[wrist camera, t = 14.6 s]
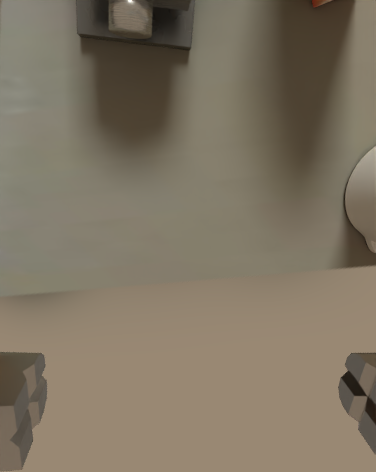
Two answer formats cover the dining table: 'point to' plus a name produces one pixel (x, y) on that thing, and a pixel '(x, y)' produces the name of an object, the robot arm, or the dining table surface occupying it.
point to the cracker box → (319, 2)
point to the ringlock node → (138, 21)
